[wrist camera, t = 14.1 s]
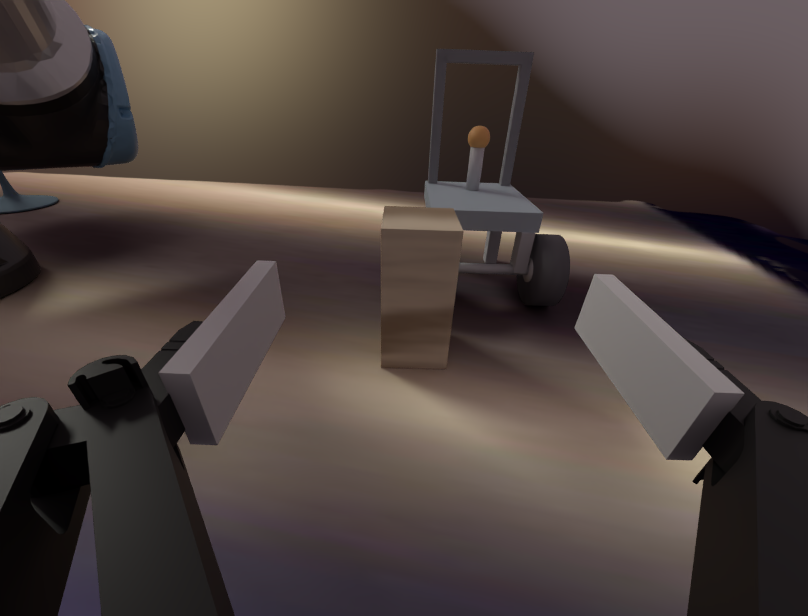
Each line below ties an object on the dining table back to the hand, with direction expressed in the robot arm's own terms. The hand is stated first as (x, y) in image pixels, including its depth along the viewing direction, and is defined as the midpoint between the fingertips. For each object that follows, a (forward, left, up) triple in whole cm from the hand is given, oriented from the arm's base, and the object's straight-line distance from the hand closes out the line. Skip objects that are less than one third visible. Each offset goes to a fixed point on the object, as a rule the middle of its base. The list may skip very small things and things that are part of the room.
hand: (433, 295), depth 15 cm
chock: (-8, +6, -11) cm, 15 cm away
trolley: (-14, +18, -11) cm, 25 cm away
